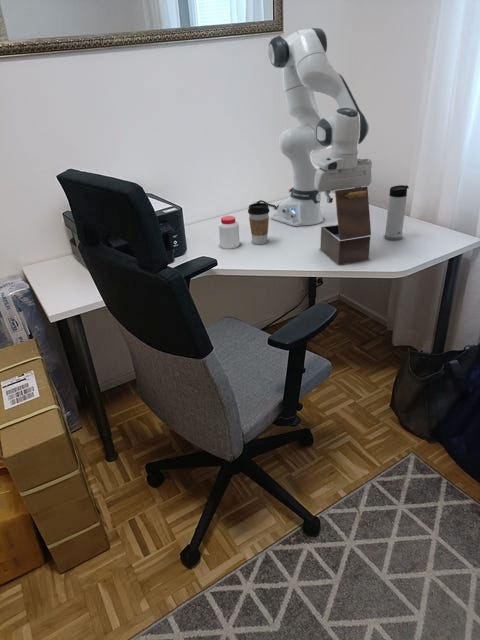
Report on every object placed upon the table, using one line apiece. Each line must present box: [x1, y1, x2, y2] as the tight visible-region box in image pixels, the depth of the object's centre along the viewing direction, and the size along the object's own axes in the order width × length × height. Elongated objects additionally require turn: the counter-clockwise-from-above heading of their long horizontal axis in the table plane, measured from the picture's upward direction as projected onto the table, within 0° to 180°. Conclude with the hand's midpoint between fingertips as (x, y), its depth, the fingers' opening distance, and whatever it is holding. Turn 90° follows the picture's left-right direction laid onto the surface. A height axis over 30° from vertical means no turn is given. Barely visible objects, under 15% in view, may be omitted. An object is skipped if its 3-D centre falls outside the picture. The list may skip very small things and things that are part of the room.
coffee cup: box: [247, 202, 271, 245], centre depth 191 cm, size 8×8×15 cm
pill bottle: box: [218, 215, 241, 250], centre depth 191 cm, size 8×8×11 cm
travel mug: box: [384, 184, 409, 241], centre depth 186 cm, size 6×7×20 cm
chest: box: [320, 224, 371, 266], centre depth 177 cm, size 16×12×9 cm
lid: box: [334, 186, 372, 240], centre depth 165 cm, size 16×12×5 cm
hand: (341, 200), depth 173 cm, fingers open, 8 cm apart
